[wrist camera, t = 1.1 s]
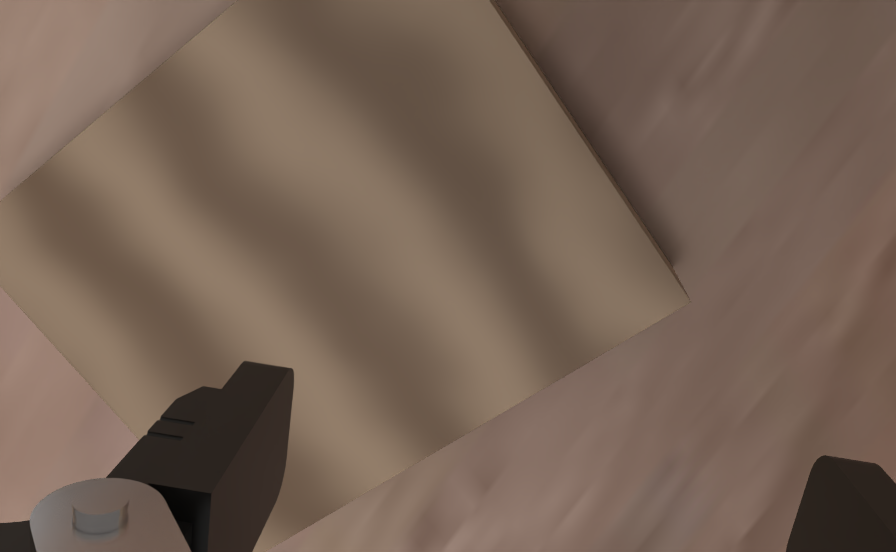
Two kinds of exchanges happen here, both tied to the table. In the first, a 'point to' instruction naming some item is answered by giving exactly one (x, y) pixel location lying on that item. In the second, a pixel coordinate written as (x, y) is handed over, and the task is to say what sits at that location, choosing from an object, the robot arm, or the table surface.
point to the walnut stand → (336, 235)
